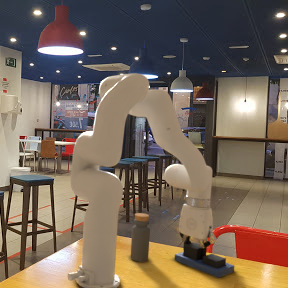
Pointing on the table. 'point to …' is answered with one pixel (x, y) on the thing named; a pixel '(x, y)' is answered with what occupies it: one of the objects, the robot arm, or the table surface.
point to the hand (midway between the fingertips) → (194, 255)
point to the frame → (205, 266)
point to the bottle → (140, 238)
